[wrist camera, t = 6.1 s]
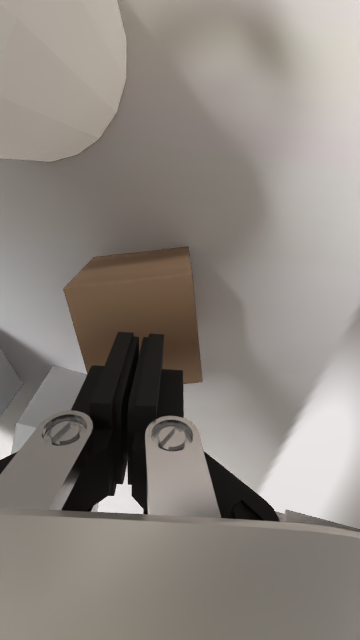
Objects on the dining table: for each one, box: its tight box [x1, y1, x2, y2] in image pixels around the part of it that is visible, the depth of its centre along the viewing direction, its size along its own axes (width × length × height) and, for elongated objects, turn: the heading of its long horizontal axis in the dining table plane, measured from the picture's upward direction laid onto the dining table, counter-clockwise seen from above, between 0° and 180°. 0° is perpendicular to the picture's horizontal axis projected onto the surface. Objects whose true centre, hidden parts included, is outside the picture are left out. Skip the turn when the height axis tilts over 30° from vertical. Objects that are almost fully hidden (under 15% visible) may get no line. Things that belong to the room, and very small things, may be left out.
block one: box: [11, 366, 99, 503], centre depth 19 cm, size 5×5×5 cm
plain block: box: [64, 247, 202, 384], centre depth 15 cm, size 5×5×5 cm
